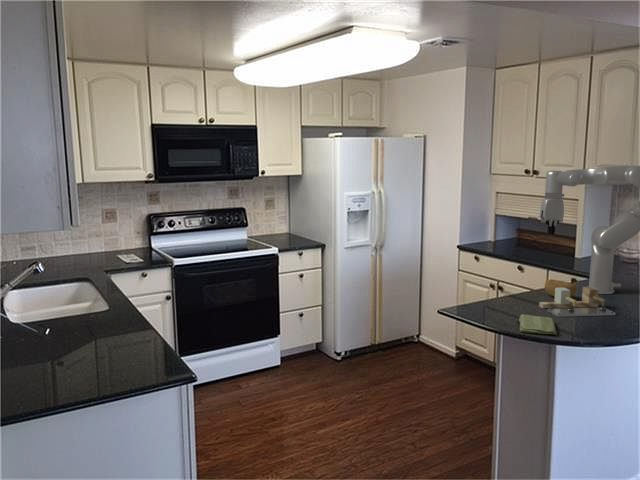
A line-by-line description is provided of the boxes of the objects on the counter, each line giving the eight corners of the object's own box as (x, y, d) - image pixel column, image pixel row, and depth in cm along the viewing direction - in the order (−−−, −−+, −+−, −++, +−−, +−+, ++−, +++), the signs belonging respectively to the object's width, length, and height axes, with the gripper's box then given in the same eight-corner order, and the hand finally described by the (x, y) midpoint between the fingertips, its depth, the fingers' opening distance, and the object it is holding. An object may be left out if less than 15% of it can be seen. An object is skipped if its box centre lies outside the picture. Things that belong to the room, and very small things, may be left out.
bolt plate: (603, 309, 226) (603, 305, 225) (615, 315, 218) (615, 310, 218) (547, 311, 224) (547, 306, 223) (557, 317, 216) (557, 312, 215)
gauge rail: (592, 304, 234) (593, 286, 232) (610, 312, 221) (611, 294, 220) (537, 306, 231) (539, 288, 230) (552, 314, 219) (554, 295, 218)
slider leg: (563, 300, 232) (564, 287, 231) (579, 308, 220) (580, 294, 219) (554, 301, 232) (555, 287, 231) (570, 309, 219) (571, 295, 219)
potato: (572, 302, 237) (574, 285, 236) (540, 297, 246) (541, 280, 245) (579, 298, 244) (580, 281, 243) (547, 293, 253) (548, 276, 252)
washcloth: (519, 334, 197) (519, 325, 196) (518, 320, 213) (518, 312, 213) (557, 337, 192) (558, 329, 192) (553, 323, 209) (554, 315, 208)
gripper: (564, 195, 259) (561, 232, 262) (534, 196, 258) (532, 233, 261) (572, 196, 252) (569, 235, 255) (542, 197, 251) (540, 235, 254)
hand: (550, 234), depth 258 cm, fingers closed
